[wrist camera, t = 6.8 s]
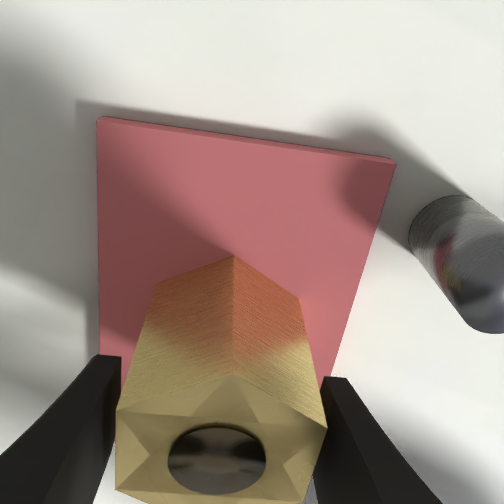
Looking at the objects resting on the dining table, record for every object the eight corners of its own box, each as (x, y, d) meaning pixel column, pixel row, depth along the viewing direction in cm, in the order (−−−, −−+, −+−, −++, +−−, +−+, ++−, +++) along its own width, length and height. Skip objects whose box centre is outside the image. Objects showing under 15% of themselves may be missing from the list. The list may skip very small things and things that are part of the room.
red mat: (303, 442, 18) (305, 455, 17) (105, 426, 17) (100, 439, 17) (389, 158, 12) (396, 164, 12) (102, 116, 12) (96, 120, 11)
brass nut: (277, 388, 16) (293, 537, 11) (151, 377, 15) (114, 526, 11) (307, 263, 13) (343, 387, 9) (158, 245, 13) (115, 366, 8)
